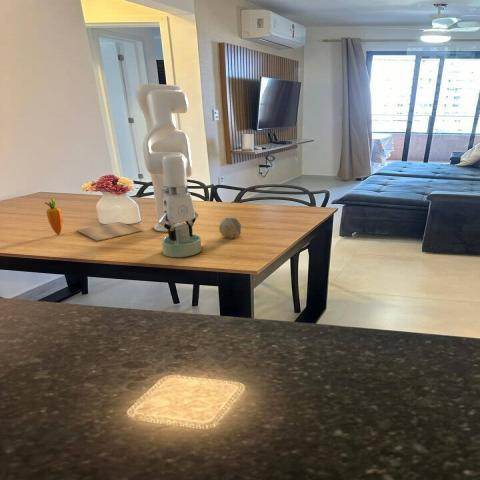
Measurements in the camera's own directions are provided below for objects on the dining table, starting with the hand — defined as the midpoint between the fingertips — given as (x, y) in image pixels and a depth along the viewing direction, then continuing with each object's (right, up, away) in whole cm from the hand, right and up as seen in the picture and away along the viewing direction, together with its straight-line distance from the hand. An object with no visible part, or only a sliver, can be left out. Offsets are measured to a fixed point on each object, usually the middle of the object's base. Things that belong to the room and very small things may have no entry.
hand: (181, 237), depth 141 cm
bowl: (0, -5, +2) cm, 5 cm away
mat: (-40, +3, +23) cm, 46 cm away
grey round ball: (+14, 0, +20) cm, 24 cm away
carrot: (-57, +1, +17) cm, 60 cm away
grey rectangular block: (0, -5, +2) cm, 5 cm away
